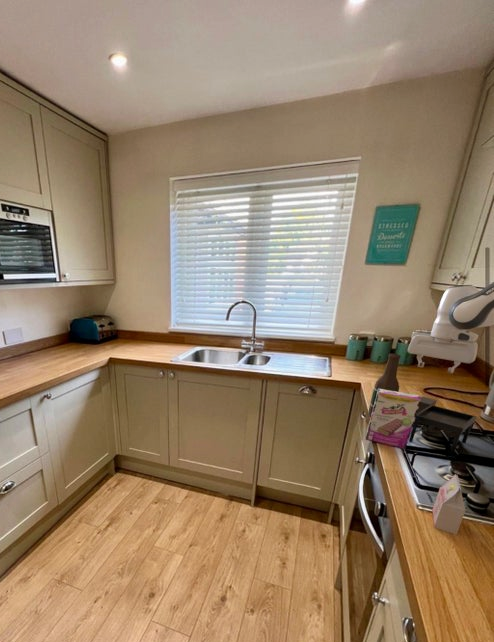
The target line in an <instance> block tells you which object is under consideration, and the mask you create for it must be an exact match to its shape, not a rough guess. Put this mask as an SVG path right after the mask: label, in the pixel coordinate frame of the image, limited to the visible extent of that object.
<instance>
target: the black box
mask: <svg viewBox="0 0 494 642" xmlns="http://www.w3.org/2000/svg"><path fill="white" fill-rule="evenodd" d="M420 399H421V401H420V404H419V408H418V411H417V413H419V412H421V411H422V410H424V409H425V408H427V407H429V406H430V405H434V406H436V404H437V402H438V400H437V399H434V398H431V397H426V396H420Z"/></svg>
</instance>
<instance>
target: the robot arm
mask: <svg viewBox="0 0 494 642" xmlns="http://www.w3.org/2000/svg"><path fill="white" fill-rule="evenodd" d="M491 326H494V281H493V282H491V283H490V284H489V285H487V286H485V287H484V288H482V289H480V290H479V289H478V288H477V287H476V286H475V285H473V284H463V285H462V284H461V285H453V286H450V287H448V288H447V289H446V290H445V291H444V293H443V295H442V296H441V299H440V301H439V305H438V308H437V315H436V318H435V320H434V322H433V325H432V328H431V330H428V329H427V330H426V329H416V330H414V331H413V332H412V333H411V336H410V338H411V340H410V343H409V345H408V348H407V352H408V354H410V355H411V354H412V355H416V360H417V362H418V363H417V368H424V366H425V362H424V361H423V359H422V358H423V357H429V358H434V359H441V360H446V361H453V364H454V365H453V366H452V367H451V366H450V367H449V366H448V368H447V371H446V372H447V373H448V374H453V373H454V372H455V369H456V368H457V367H458V366H460V365H461V363H464V364H471V363H473V362H475V361H476V359H477V354H478V350H479V348H478V347H479V345H478V343H477V340H478V339H479V334H477V333H475V332H473V331H470V330H471V329H472V330H473V329H477V328H478V329H479V328H484V327H485V328H486V327H487V328H488V327H491Z"/></svg>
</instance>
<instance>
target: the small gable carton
mask: <svg viewBox="0 0 494 642" xmlns="http://www.w3.org/2000/svg"><path fill="white" fill-rule="evenodd" d="M461 487H462V486H461V483H460V480H459V476H458V474H456V473H454V475H453V476H452V477H451V478H450V479H449V480H448V481H446V482H444V484H442V485H441V486H440V487H439V490H438V491H437V495H436V498H435V501H434V502H433V507H432V520H433V528H434V529H437V530H440V531H444V532H447V533H449V534H453V535H457V534H458V531H459V529H460V526H461V524H462V521H463V518H464V516H465V513H466V507H465V506H466V505H465V502H464V498H463V493H462V488H461Z"/></svg>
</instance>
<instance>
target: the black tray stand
mask: <svg viewBox="0 0 494 642" xmlns="http://www.w3.org/2000/svg"><path fill="white" fill-rule="evenodd" d="M476 419H477V415H474V414H473V415H472V414H469V413H465V412H460V411H457V410H453V409H450V408H446V407H442V406H438V405H435V406H434V405H430V406H429V407H427V408H425V409H424V410H422V411H421V412H419V413H417V414H416V417H415V420H414V423H413V427H412V430H411V433H410V436H409V440H408V443H413V442H414V438H415V435H416V432H417V428H418V425H419V423H422V424H424V427H426V428H428V429H429V426H432V427H436V428H439V429H443V430H446V431H449V432H451V433H455V435H454V438H453V441H452V444H451V447H450V450H449V452H448V456H450V455H453V456H454V454H455V451H456V448H457V445H458V443H459V440H460V437H461V435H462V434H463V433H464V434H463V437H462V439H461V443H462V444H466V443H467V440H468V437H469V434H470V432H471V429H472V426H473V424H474V423H476Z"/></svg>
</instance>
